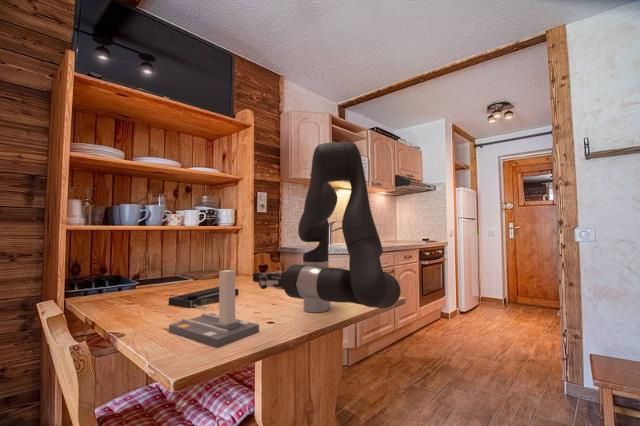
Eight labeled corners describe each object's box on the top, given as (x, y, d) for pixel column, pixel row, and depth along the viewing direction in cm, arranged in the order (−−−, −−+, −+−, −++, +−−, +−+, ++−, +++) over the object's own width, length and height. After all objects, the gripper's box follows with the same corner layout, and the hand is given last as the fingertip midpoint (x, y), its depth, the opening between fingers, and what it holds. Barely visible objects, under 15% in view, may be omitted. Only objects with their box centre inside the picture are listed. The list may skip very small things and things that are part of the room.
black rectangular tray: (217, 284, 143) (250, 287, 133) (217, 293, 143) (250, 297, 133) (168, 294, 121) (203, 299, 111) (168, 305, 121) (203, 311, 111)
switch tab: (229, 324, 88) (229, 269, 88) (239, 326, 85) (239, 270, 86) (215, 329, 83) (215, 271, 84) (224, 331, 81) (224, 272, 82)
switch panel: (211, 319, 100) (211, 310, 100) (259, 331, 87) (258, 320, 87) (169, 331, 88) (169, 321, 88) (217, 347, 76) (217, 335, 76)
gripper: (325, 262, 74) (272, 260, 84) (289, 268, 64) (234, 264, 74) (325, 294, 74) (273, 287, 84) (289, 305, 63) (234, 296, 73)
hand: (254, 276), depth 79 cm, fingers closed
